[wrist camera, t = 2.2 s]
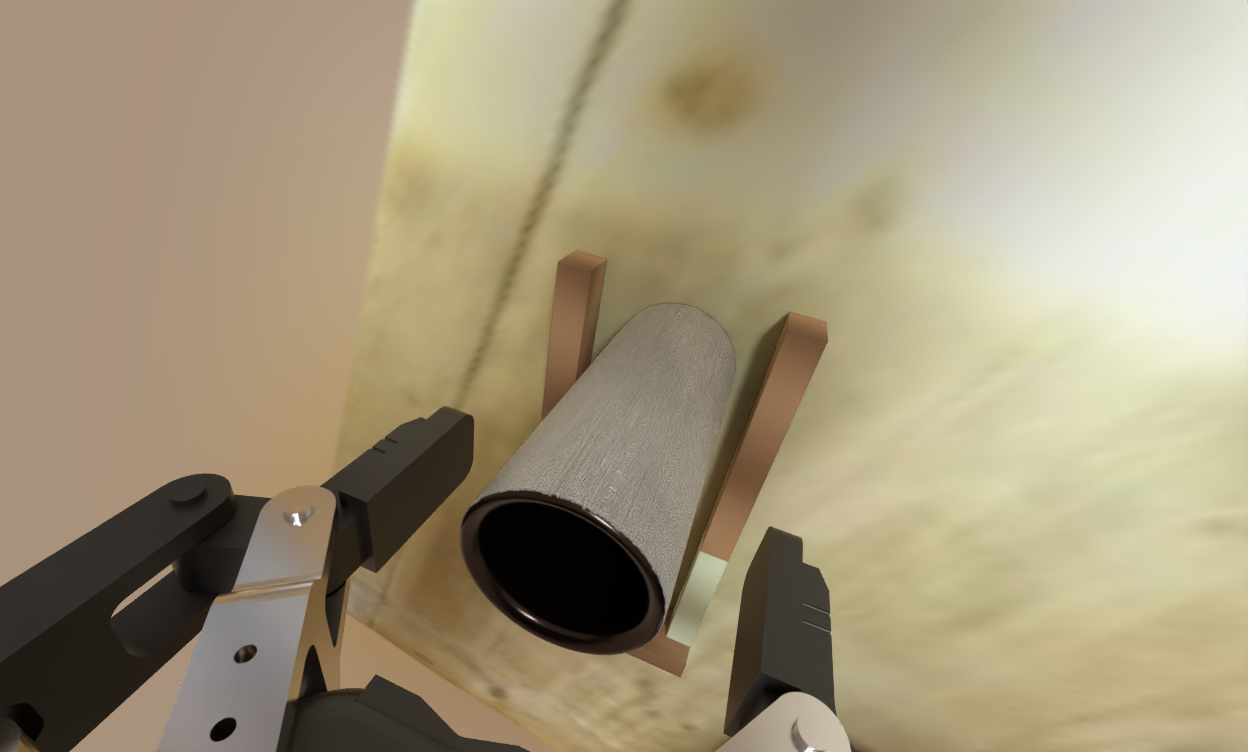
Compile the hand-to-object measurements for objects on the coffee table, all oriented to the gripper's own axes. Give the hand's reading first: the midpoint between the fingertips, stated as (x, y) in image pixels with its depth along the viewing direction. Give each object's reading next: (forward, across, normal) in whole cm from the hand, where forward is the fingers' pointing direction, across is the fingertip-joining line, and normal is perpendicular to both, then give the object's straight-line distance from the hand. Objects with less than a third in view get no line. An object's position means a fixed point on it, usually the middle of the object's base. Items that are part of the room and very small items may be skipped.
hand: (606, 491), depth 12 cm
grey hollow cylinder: (+7, 0, 0) cm, 7 cm away
